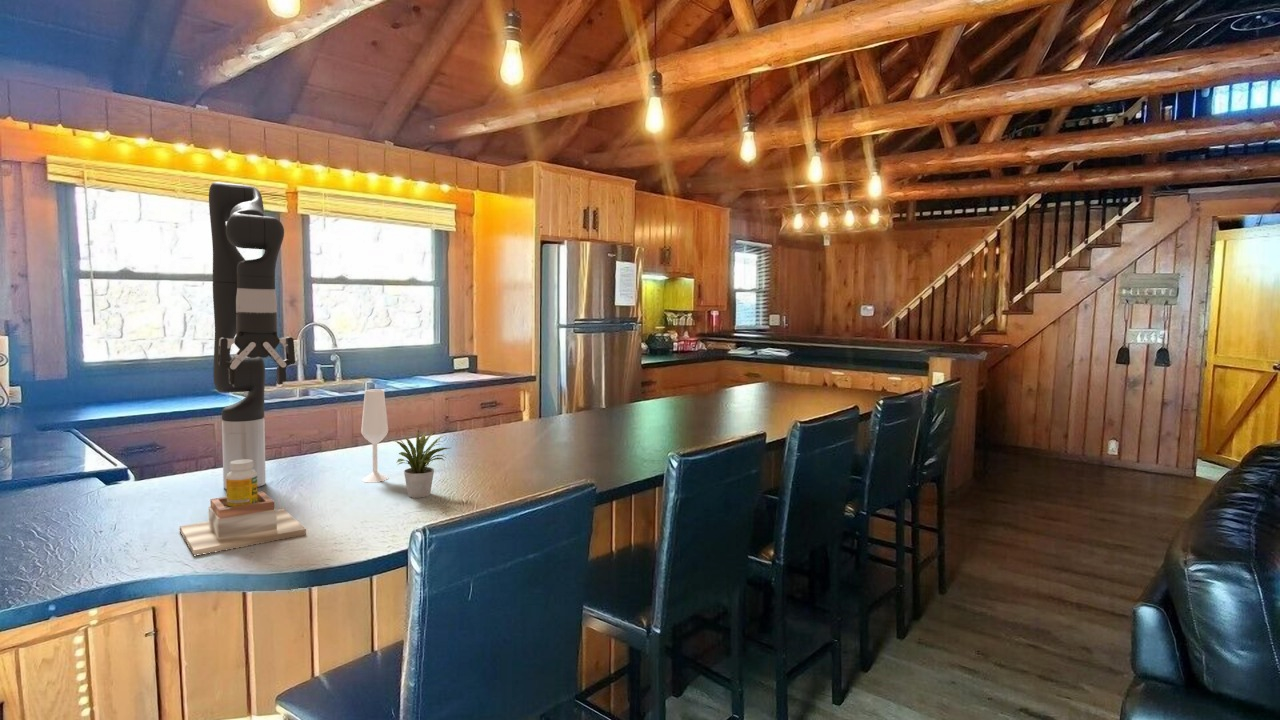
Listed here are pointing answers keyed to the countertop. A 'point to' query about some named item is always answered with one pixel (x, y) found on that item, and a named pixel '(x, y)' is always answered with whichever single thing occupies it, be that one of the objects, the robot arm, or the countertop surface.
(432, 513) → the countertop surface
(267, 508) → the tower base
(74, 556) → the countertop surface
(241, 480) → the supplement bottle
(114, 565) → the countertop surface
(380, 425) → the champagne flute
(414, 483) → the house plant
